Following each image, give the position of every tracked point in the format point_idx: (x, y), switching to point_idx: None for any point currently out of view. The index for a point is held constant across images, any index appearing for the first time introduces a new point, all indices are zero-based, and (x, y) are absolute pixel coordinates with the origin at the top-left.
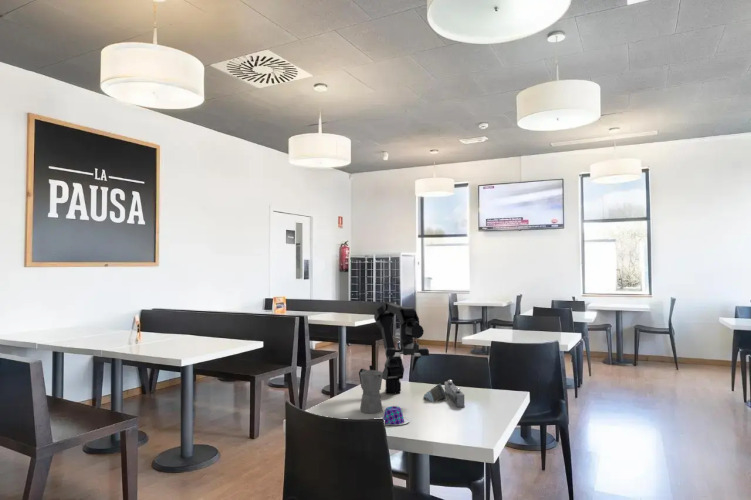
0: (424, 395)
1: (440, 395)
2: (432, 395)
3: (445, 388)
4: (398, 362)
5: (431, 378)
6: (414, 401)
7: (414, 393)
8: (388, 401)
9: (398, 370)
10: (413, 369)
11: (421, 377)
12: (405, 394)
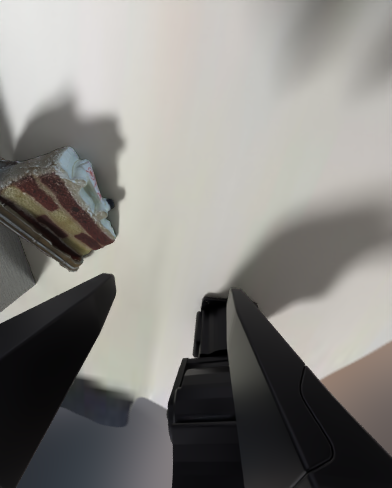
0: (108, 228)
1: (18, 163)
2: (57, 152)
3: (14, 283)
4: (349, 416)
5: (85, 412)
6: (165, 165)
7: (147, 292)
8: (292, 186)
9: (210, 393)
10: (84, 284)
11: (111, 422)
12: (184, 285)
